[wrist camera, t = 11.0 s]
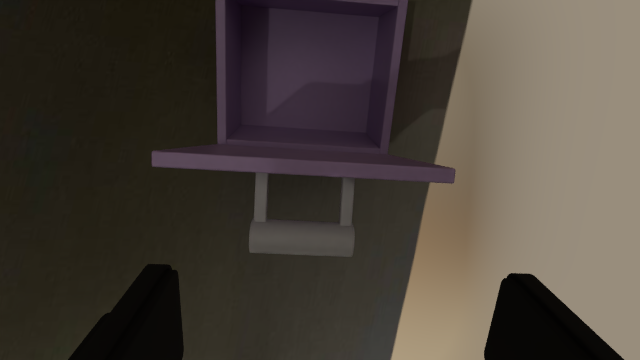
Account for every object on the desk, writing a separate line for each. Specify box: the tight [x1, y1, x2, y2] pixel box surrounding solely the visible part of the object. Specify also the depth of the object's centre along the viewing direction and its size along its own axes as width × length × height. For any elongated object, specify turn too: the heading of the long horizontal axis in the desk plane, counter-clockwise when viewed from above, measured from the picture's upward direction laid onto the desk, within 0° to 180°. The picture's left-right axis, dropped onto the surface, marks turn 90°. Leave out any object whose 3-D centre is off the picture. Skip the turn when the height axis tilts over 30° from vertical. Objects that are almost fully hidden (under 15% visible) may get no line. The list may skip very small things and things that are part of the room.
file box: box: [215, 0, 408, 154], centre depth 35 cm, size 14×16×9 cm
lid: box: [152, 144, 455, 257], centre depth 26 cm, size 14×16×6 cm
